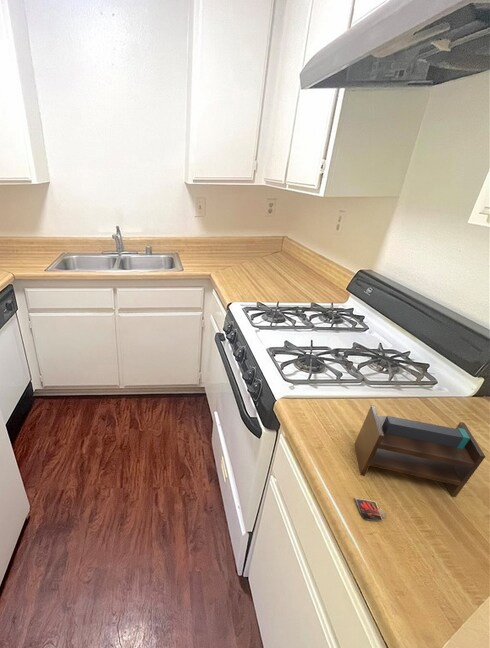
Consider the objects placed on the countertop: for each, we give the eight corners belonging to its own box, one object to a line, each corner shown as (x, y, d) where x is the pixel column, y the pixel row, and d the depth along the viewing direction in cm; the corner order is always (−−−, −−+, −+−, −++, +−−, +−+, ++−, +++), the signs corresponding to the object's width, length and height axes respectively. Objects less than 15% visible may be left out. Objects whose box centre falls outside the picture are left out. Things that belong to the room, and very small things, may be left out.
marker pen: (457, 439, 68) (464, 429, 66) (462, 449, 65) (470, 438, 64) (382, 425, 71) (387, 414, 69) (384, 433, 69) (390, 422, 67)
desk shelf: (439, 461, 75) (464, 422, 69) (455, 497, 67) (485, 456, 61) (354, 443, 79) (371, 405, 73) (360, 475, 71) (379, 435, 65)
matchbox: (365, 522, 62) (366, 520, 62) (349, 498, 66) (350, 497, 66) (389, 520, 62) (390, 519, 62) (372, 497, 66) (373, 495, 66)
